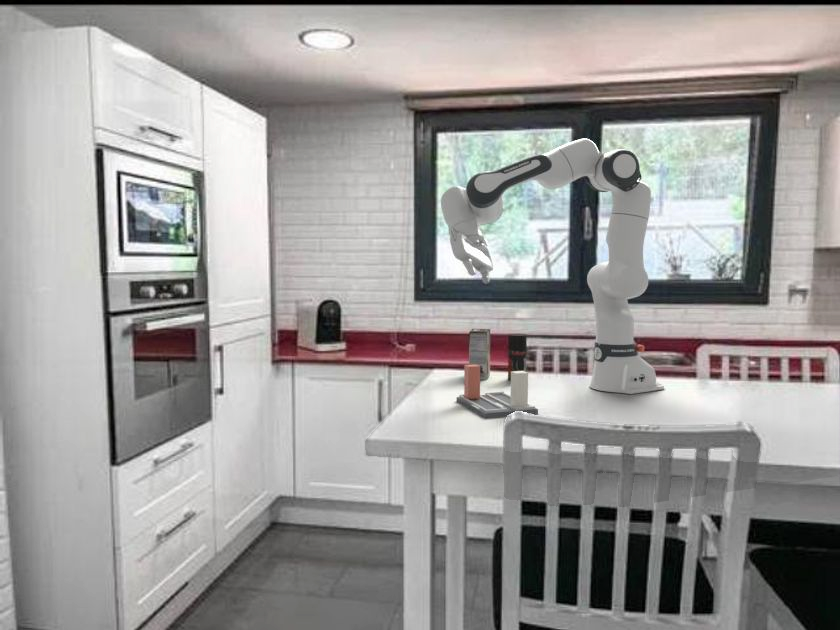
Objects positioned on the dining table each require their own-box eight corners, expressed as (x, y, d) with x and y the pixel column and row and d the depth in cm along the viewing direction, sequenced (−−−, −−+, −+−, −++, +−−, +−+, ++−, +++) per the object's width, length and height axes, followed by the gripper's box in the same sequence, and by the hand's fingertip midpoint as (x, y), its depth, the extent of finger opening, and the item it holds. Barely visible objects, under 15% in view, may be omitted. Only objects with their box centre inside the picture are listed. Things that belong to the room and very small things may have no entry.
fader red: (475, 395, 181) (475, 364, 181) (479, 398, 179) (480, 366, 178) (464, 396, 180) (464, 365, 180) (468, 398, 178) (468, 366, 177)
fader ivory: (522, 403, 172) (522, 370, 171) (527, 406, 169) (528, 372, 168) (510, 404, 171) (510, 371, 170) (515, 407, 168) (516, 373, 167)
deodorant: (525, 381, 209) (525, 336, 208) (506, 380, 210) (507, 335, 209) (526, 378, 215) (527, 333, 213) (509, 377, 216) (509, 333, 215)
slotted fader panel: (504, 397, 186) (504, 391, 186) (538, 413, 167) (538, 406, 167) (456, 401, 181) (456, 394, 181) (485, 418, 162) (485, 411, 162)
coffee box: (471, 374, 222) (472, 328, 221) (490, 374, 221) (490, 328, 219) (468, 379, 213) (468, 331, 212) (487, 379, 212) (488, 331, 210)
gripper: (459, 221, 178) (473, 264, 173) (489, 242, 196) (503, 282, 191) (440, 231, 181) (454, 274, 176) (471, 251, 198) (484, 290, 193)
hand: (479, 278), depth 183 cm, fingers open, 8 cm apart
